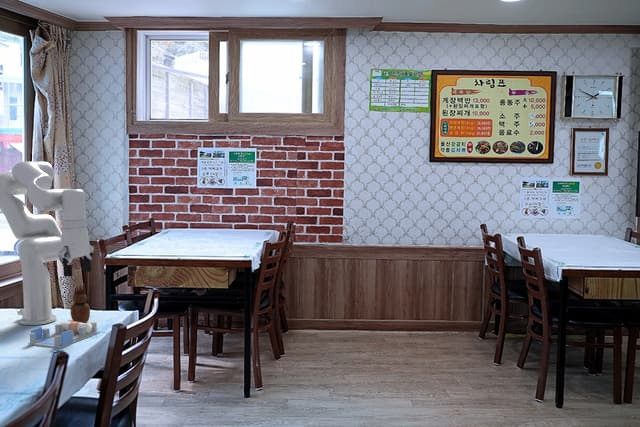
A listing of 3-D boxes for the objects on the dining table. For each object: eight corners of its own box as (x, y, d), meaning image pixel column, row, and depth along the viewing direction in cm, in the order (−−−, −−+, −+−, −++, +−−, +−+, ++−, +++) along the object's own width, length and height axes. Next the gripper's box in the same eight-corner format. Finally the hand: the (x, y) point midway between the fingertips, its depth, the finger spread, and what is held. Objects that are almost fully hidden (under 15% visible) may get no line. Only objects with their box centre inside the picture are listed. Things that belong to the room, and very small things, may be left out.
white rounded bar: (60, 332, 227) (59, 322, 227) (67, 328, 231) (66, 319, 230) (86, 335, 223) (85, 324, 223) (93, 331, 227) (92, 321, 226)
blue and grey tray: (28, 344, 215) (27, 331, 214) (68, 330, 233) (67, 317, 232) (60, 348, 210) (59, 334, 210) (98, 333, 228) (98, 320, 228)
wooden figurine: (93, 321, 244) (91, 282, 243) (83, 325, 238) (81, 285, 237) (78, 320, 246) (77, 281, 245) (68, 324, 241) (66, 284, 239)
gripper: (82, 222, 234) (85, 269, 235) (48, 227, 218) (51, 278, 219) (99, 222, 232) (102, 270, 233) (66, 227, 216) (69, 278, 217)
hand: (77, 273), depth 226 cm, fingers open, 9 cm apart
